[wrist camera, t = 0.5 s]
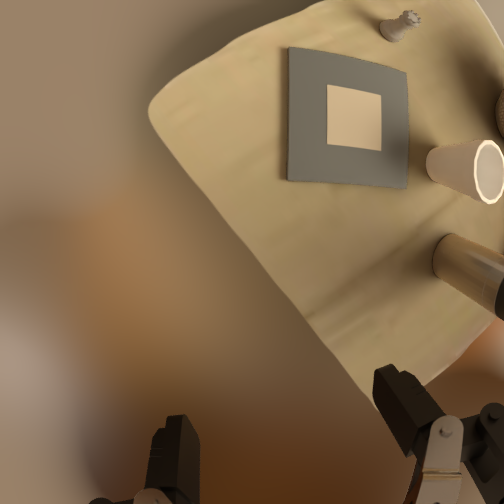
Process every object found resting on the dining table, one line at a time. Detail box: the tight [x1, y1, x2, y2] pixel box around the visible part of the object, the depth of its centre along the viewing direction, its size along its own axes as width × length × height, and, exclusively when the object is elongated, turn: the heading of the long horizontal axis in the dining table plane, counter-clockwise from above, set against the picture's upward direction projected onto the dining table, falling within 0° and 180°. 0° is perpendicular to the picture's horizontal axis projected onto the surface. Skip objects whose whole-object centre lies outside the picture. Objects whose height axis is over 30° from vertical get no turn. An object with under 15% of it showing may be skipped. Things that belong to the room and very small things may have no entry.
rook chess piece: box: [380, 10, 421, 42], centre depth 29 cm, size 4×4×8 cm
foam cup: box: [426, 140, 504, 204], centre depth 35 cm, size 10×9×13 cm
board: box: [286, 47, 409, 189], centre depth 37 cm, size 20×20×1 cm
